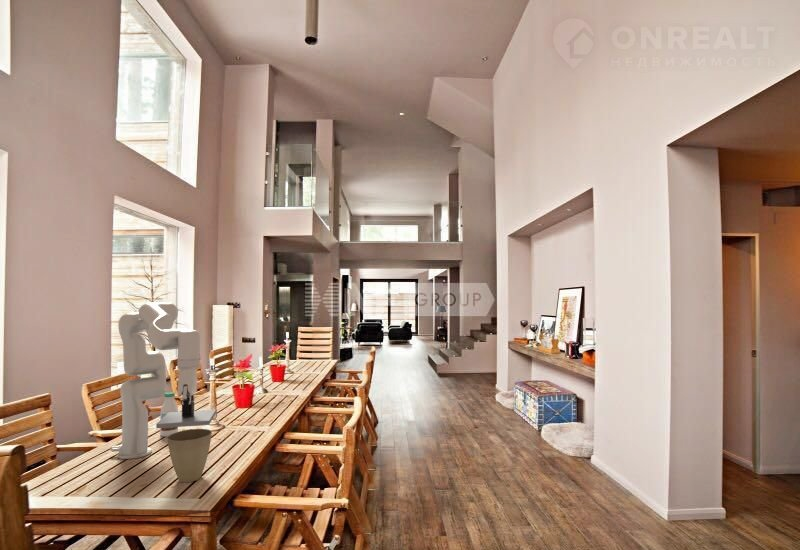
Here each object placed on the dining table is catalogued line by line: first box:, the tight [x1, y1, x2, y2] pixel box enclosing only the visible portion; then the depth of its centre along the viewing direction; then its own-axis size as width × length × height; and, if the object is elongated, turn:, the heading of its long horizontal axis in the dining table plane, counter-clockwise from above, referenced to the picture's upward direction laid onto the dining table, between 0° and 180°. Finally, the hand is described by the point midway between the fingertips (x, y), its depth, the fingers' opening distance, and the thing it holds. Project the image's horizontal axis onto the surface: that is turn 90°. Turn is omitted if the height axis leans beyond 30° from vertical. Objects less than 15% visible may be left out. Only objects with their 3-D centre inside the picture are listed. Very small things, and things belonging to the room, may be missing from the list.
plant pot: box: [166, 428, 213, 483], centre depth 170 cm, size 15×15×16 cm
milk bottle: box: [159, 391, 179, 438], centre depth 227 cm, size 8×8×20 cm
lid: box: [155, 401, 217, 429], centre depth 171 cm, size 17×17×6 cm
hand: (188, 413), depth 171 cm, fingers closed on lid, 4 cm apart
